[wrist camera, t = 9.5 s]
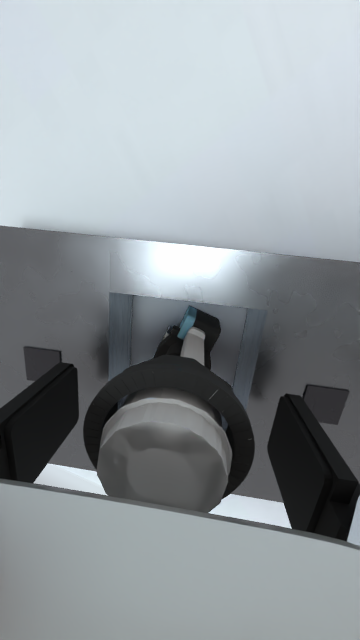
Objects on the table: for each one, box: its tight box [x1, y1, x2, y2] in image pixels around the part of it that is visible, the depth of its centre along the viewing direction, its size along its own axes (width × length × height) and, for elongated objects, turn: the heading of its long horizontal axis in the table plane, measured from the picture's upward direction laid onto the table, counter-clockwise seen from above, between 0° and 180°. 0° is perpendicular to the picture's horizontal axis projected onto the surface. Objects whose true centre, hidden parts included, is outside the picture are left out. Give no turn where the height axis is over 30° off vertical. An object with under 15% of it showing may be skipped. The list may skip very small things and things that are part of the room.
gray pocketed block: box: [0, 226, 360, 503], centre depth 14 cm, size 22×14×4 cm, turn 84°
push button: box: [83, 306, 255, 513], centre depth 11 cm, size 7×5×10 cm
